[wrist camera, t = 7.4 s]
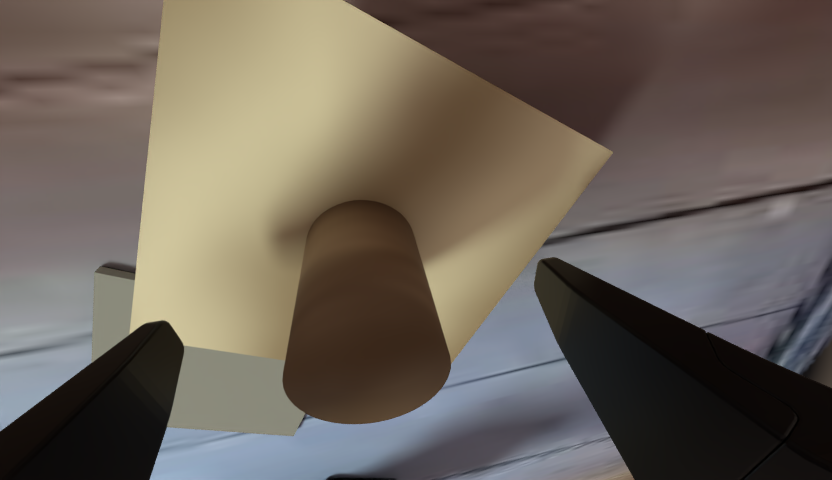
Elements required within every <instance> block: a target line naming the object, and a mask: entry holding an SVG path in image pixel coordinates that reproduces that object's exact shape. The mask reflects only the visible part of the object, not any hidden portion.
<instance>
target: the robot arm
mask: <svg viewBox="0 0 832 480" xmlns="http://www.w3.org/2000/svg"><path fill="white" fill-rule="evenodd" d="M534 288H535V292H536V295H537V297H538V299H539V302H540V304H541V306H542V309H543V311H544V313H545V316H546V318H547V320H548V323H549V325H550V327H551V330H552V332H553V334H554V337H555V339H556V341H557V343H558V345H559V347H560V349H561V351H562V352H563V354H564V356H565V358H566V359H567V361H568V363H569V365H570V367H571V368H572V370H573V372H574V374H575V375H576V377H577V379H578V381H579V382H580V384H581V386H582V388H583V389H584V391H585V393H586V395H587V397H588V398H589V400H590V402H591V404H592V405H593V407H594V409H595V411H596V412H597V414H598V416H599V418H600V419H601V421H602V423H603V425H604V427H605V428H606V430H607V432H608V434H609V435H610V437H611V439H612V441H613V442H614V444H615V446H616V448H617V449H618V451H619V453H620V455H621V456H622V458H623V460H624V462H625V464H626V465H627V467H628V469H629V471H630V472H631V474H632V476H633V478H634V479H635V480H832V388H830V387H828V386H825V385H823V384H821V383H818V382H816V381H814V380H811V379H809V378H807V377H804V376H802V375H800V374H798V373H795V372H793V371H791V370H788V369H786V368H784V367H782V366H779V365H777V364H775V363H773V362H770V361H768V360H766V359H764V358H761V357H759V356H757V355H755V354H753V353H751V352H749V351H747V350H744V349H742V348H740V347H738V346H736V345H734V344H732V343H730V342H728V341H726V340H724V339H721V338H719V337H717V336H715V335H713V334H711V333H709V332H707V333H706V332H705V331H704V330H703V329H701V328H699V327H697V326H695V325H693V324H691V323H689V322H687V321H685V320H683V319H681V318H679V317H676V316H674V315H672V314H670V313H668V312H666V311H664V310H662V309H660V308H658V307H656V306H654V305H652V304H650V303H648V302H646V301H644V300H642V299H640V298H638V297H636V296H634V295H632V294H630V293H628V292H626V291H624V290H621V289H619V288H617V287H615V286H613V285H611V284H609V283H607V282H605V281H603V280H601V279H599V278H597V277H595V276H593V275H591V274H589V273H587V272H585V271H583V270H581V269H579V268H577V267H575V266H573V265H571V264H568V263H566V262H564V261H562V260H560V259H558V258H555V257H552V258H545V259H541V260H540V261H539V262H538V264H537V270H536V276H535V282H534ZM183 356H184V345H183V342H182V341H181V339H180V338H179V336H178V335H177V333H176V332H175V330H174V329H173V327H172V326H171V325H170V323H169V322H167V321H165V320H160V321H154V322H148V323H145V324H143V325H141V326H140V327H139V328H137V329H136V330H135V331H133V332H132V333H131V334H129V335H128V336H127V337H125V338H124V339H123V340H121V341H120V342H119V343H117V344H116V345H115V346H113V347H112V348H111V349H109V350H108V351H107V352H105V353H104V354H103V355H101V356H100V357H99V358H97V359H96V360H95V361H93V362H92V363H91V364H89V365H88V366H87V367H85V368H84V369H83V370H81V371H80V372H79V373H77V374H76V375H75V376H74V377H72V378H71V379H70V380H68V381H67V382H66V383H64V384H63V385H62V386H60V387H59V388H58V389H56V390H55V391H54V392H52V393H51V394H50V395H48V396H47V397H46V398H44V399H43V400H42V401H40V402H39V403H38V404H36V405H35V406H34V407H32V408H31V409H30V410H28V411H27V412H26V413H24V414H23V415H22V416H20V417H19V418H18V419H16V420H15V421H14V422H12V423H11V424H10V425H8V426H7V427H6V428H4V429H3V430H2V431H0V480H149V479H150V476H151V473H152V470H153V467H154V464H155V461H156V458H157V455H158V452H159V449H160V446H161V443H162V440H163V437H164V434H165V431H166V428H167V425H168V422H169V418H170V415H171V411H172V407H173V402H174V398H175V393H176V388H177V384H178V379H179V375H180V370H181V365H182V361H183Z"/></svg>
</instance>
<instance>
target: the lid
mask: <svg viewBox="0 0 832 480" xmlns="http://www.w3.org/2000/svg"><path fill="white" fill-rule="evenodd" d="M612 153H613V152H612V151H610V150H608V149H607V148H605V147H603V146H601V145H599V144H598V143H596V142H594V141H592V140H591V139H589V138H587V137H585V136H583V135H582V134H580V133H578V132H576V131H575V130H573V129H571V128H569V127H567V126H566V125H564V124H562V123H560V122H559V121H557V120H555V119H553V118H551V117H550V116H548V115H546V114H544V113H543V112H541V111H539V110H537V109H535V108H534V107H532V106H530V105H528V104H527V103H525V102H523V101H521V100H519V99H518V98H516V97H514V96H512V95H511V94H509V93H507V92H505V91H503V90H502V89H500V88H498V87H496V86H495V85H493V84H491V83H489V82H487V81H486V80H484V79H482V78H480V77H478V76H477V75H475V74H473V73H471V72H470V71H468V70H466V69H464V68H462V67H461V66H459V65H457V64H455V63H454V62H452V61H450V60H448V59H446V58H445V57H443V56H441V55H439V54H438V53H436V52H434V51H432V50H430V49H429V48H427V47H425V46H423V45H422V44H420V43H418V42H416V41H414V40H413V39H411V38H409V37H407V36H406V35H404V34H402V33H400V32H398V31H397V30H395V29H393V28H391V27H390V26H388V25H386V24H384V23H382V22H381V21H379V20H377V19H375V18H374V17H372V16H370V15H368V14H366V13H365V12H363V11H361V10H359V9H358V8H356V7H354V6H352V5H350V4H349V3H347V2H345V1H343V0H164V2H163V12H162V22H161V31H160V41H159V51H158V61H157V70H156V80H155V90H154V99H153V109H152V119H151V129H150V138H149V148H148V158H147V168H146V177H145V187H144V197H143V206H142V216H141V226H140V236H139V245H138V255H137V265H136V275H135V284H134V294H133V304H132V313H131V323H130V333H129V334H131V333H132V332H133V331H135V330H136V329H137V328H139V327H140V326H141V325H143V324H145V323H148V322H154V321H160V320H165V321H167V322H169V323H170V325H171V326H172V327H173V329H174V330H175V332H176V333H177V335H178V336H179V338H180V339H181V341H182V342H183V345H185V346H191V347H198V348H205V349H211V350H218V351H225V352H231V353H238V354H245V355H251V356H258V357H264V358H271V359H278V360H284V361H285V364H284V370H283V378H282V382H283V388H284V391H285V394H286V395H287V397H288V399H289V400H290V401H291V402H292V403H293V404H294V406H296V407H297V408H298V409H300V410H301V411H303V412H304V413H306V414H308V415H310V416H312V417H315V418H318V419H321V420H324V421H329V422H333V423H341V424H365V423H374V422H380V421H384V420H389V419H392V418H395V417H398V416H401V415H404V414H406V413H408V412H411V411H413V410H415V409H417V408H418V407H420V406H422V405H423V404H425V403H426V402H427V401H429V400H430V399H431V398H432V397H434V396H435V395H436V394H437V393H438V392H439V390H440V389H441V388H442V387H443V385H444V384H445V382H446V380H447V378H448V376H449V373H450V369H451V363H452V362H453V361H454V359H455V358H456V357H457V355H458V354H459V353H460V352H461V350H462V349H463V348H464V346H465V345H466V344H467V342H468V341H469V340H470V338H471V337H472V336H473V335H474V333H475V332H476V331H477V329H478V328H479V327H480V325H481V324H482V323H483V321H484V320H485V319H486V318H487V316H488V315H489V314H490V312H491V311H492V310H493V308H494V307H495V306H496V305H497V303H498V302H499V301H500V299H501V298H502V297H503V295H504V294H505V293H506V291H507V290H508V289H509V288H510V286H511V285H512V284H513V282H514V281H515V280H516V278H517V277H518V276H519V274H520V273H521V272H522V271H523V269H524V268H525V267H526V265H527V264H528V263H529V261H530V260H531V259H532V258H533V256H534V255H535V254H536V252H537V251H538V250H539V248H540V247H541V246H542V244H543V243H544V242H545V241H546V239H547V238H548V237H549V235H550V234H551V233H552V231H553V230H554V229H555V227H556V226H557V225H558V224H559V222H560V221H561V220H562V218H563V217H564V216H565V214H566V213H567V212H568V211H569V209H570V208H571V207H572V205H573V204H574V203H575V201H576V200H577V199H578V197H579V196H580V195H581V194H582V192H583V191H584V190H585V188H586V187H587V186H588V184H589V183H590V182H591V180H592V179H593V178H594V177H595V175H596V174H597V173H598V171H599V170H600V169H601V167H602V166H603V165H604V164H605V162H606V161H607V160H608V158H609V157H610V156H611V154H612Z"/></svg>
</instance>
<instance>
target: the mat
mask: <svg viewBox="0 0 832 480" xmlns="http://www.w3.org/2000/svg"><path fill="white" fill-rule="evenodd" d="M135 275H136V274H135V273H130V272H125V271H120V270H115V269H111V268H106V267H101V266H100V267H99V268H98V269H97V270H96V271H95V272H94V303H93V335H92V362H93V361H95V360H96V359H97V358H99V357H100V356H101V355H103V354H104V353H105V352H107V351H108V350H109V349H111V348H112V347H113V346H115V345H116V344H117V343H119V342H120V341H121V340H123V339H124V338H125V337H127V336H128V335H129V333H130V323H131V313H132V304H133V294H134V284H135ZM284 364H285V361H284V360H278V359H271V358H264V357H258V356H251V355H245V354H238V353H231V352H225V351H218V350H211V349H205V348H198V347H191V346H185V345H184V356H183V361H182V365H181V370H180V375H179V379H178V384H177V388H176V393H175V398H174V402H173V407H172V411H171V415H170V418H169V422H168V425H167V427H173V428H187V429H201V430H215V431H229V432H243V433H257V434H271V435H285V436H294V434H295V432H296V430H297V429H298V427H299V425H300V423H301V421H302V419H303V417H304V415H305V413H304V412H303V411H301V410H300V409H298V408H297V407H296V406H294V404H293V403H292V402H291V401H290V400H289V399H288V397H287V395H286V394H285V391H284V388H283V382H282V378H283V370H284Z"/></svg>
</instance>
